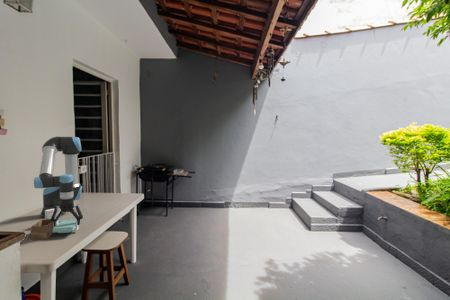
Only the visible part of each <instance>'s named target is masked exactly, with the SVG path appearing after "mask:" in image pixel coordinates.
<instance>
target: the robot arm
mask: <svg viewBox="0 0 450 300" xmlns="http://www.w3.org/2000/svg"><path fill="white" fill-rule="evenodd" d="M81 143H82V142H81V138H79V137H77V136H54V137H51V138H49V139H47V140H46V141H45V142H44V144H43V145H42V147H41V152H42V156H41V162H40V169H39V173H38V174H39V175H38V176H37V177H34V178H33V186H34V188H35V189H43V190H42V205H43V206H42V210H41V212H40V218H42V219H45V210H49V209H54V212H53V215H52V217H51V220H50V221H53V222H54V227H55V226H56V225H57V224H59V221H57V220H58V218H59V217H60V216H61V217H62V216H63V215H64V214H65V213H71V214H72V215H73V217H74V219H75V220H76V219H77V220H76V228H75V231H78V230H79V226H80V224H81V220H82V219H84V216H83V214H82V211H81V209H80V204H75V203H74V201H79V200H80V199H81V198H82V191H83V186H82V185H81V183H79V169H78V167H79V166H78V165H79V164H78V155H79V154H80V152H82V144H81ZM58 152H61V153H62V155H64V168H65V169H64V170H65V171H64V172H65V173H64V174H61V175H57V176H56V175H54V169H55V161H56V155H57V153H58ZM59 208H60V209H61V211H60V213H59V214H58V216H57V217H56V218H55V216H56V213H57V211H58V209H59ZM75 210H76V211H75ZM54 218H55V219H54Z"/></svg>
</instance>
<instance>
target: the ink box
mask: <svg viewBox="0 0 450 300" xmlns="http://www.w3.org/2000/svg"><path fill="white" fill-rule="evenodd" d="M60 211H61V209H60V208H59V209H58V211H57V213H56V216H55V218H56V217H57V216H58V214H59V213H60ZM53 212H54V209H49V210H45V218H44V219H51V217H52V215H53ZM55 218H54V219H55ZM57 221H59V223H60V222H61V221H62V215H61V216H60V217H59V218H58V220H57Z"/></svg>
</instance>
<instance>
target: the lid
mask: <svg viewBox="0 0 450 300" xmlns="http://www.w3.org/2000/svg"><path fill="white" fill-rule="evenodd" d="M76 220H77V219H76V218H75V219H63V220H62V219H61V222H60V223H59V224H57V225H56V226H55V227H54V228H53V232H55V233H58V234H66V233H71V232H73V231H74V230H76Z"/></svg>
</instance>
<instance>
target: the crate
mask: <svg viewBox="0 0 450 300" xmlns="http://www.w3.org/2000/svg"><path fill="white" fill-rule="evenodd" d="M50 220H51V219H45V218H43V219H40V220H39V221H37V222H36V223H34V224H33V225H32V226H30V240H31V241H34V240H35V241H36V240H45V239H46V240H47V239H49V238H50V237H51V236H52V235H53V234H55V233H56V232H53V228H54V222H53V221H50Z"/></svg>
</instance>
